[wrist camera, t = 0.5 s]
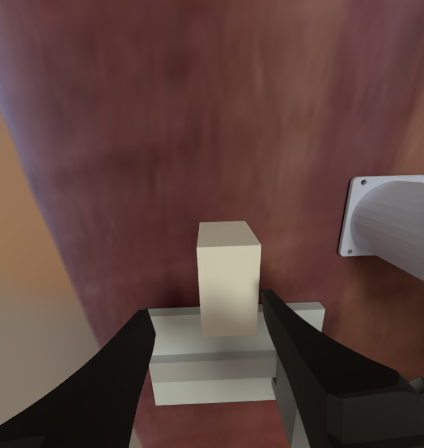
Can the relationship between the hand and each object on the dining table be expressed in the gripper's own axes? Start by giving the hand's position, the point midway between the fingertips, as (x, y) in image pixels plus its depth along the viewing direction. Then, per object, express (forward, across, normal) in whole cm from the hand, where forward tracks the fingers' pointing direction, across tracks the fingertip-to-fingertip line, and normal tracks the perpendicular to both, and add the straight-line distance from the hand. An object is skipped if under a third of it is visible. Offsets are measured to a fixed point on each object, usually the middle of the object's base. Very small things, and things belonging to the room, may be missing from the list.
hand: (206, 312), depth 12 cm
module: (+9, -2, +1) cm, 9 cm away
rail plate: (+8, -1, +14) cm, 16 cm away
